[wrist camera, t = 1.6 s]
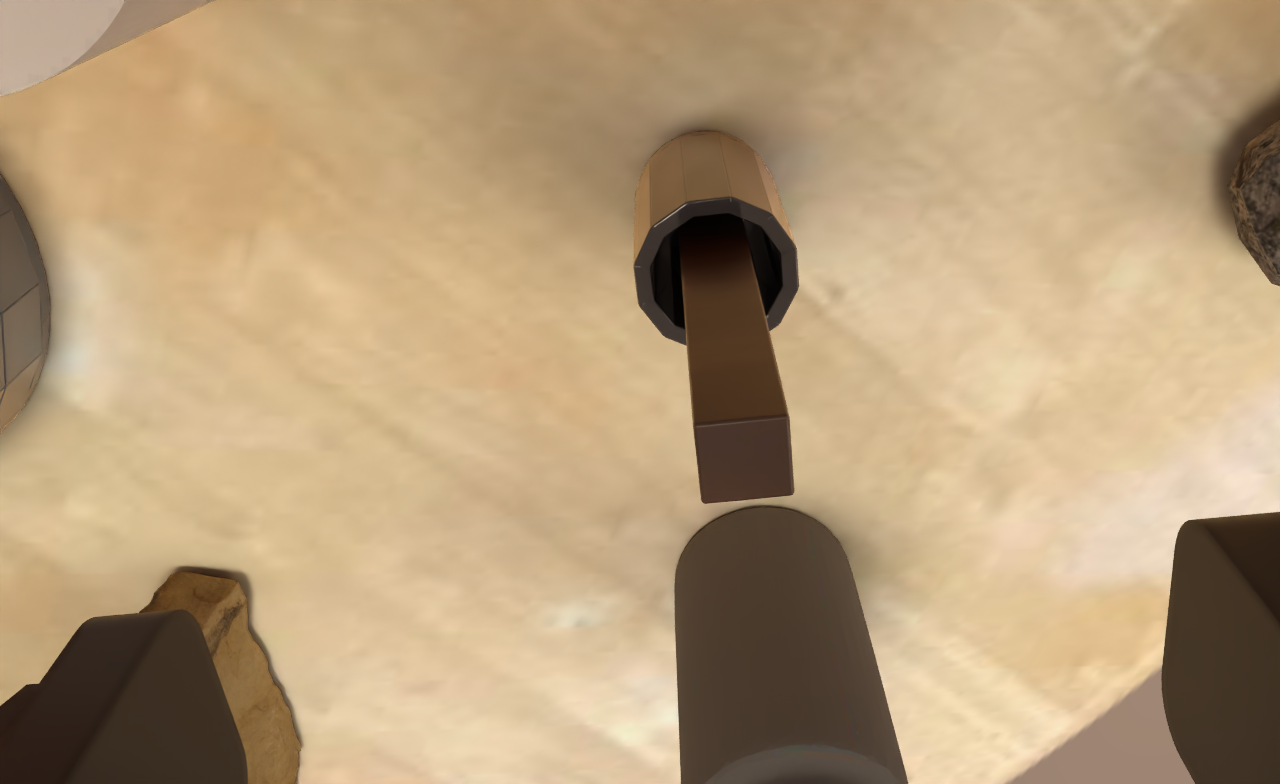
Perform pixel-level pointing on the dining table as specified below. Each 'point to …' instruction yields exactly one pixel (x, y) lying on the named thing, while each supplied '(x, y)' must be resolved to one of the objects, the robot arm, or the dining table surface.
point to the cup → (72, 33)
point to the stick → (732, 367)
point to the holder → (700, 186)
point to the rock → (238, 672)
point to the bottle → (777, 659)
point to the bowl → (20, 308)
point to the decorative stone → (1259, 200)
